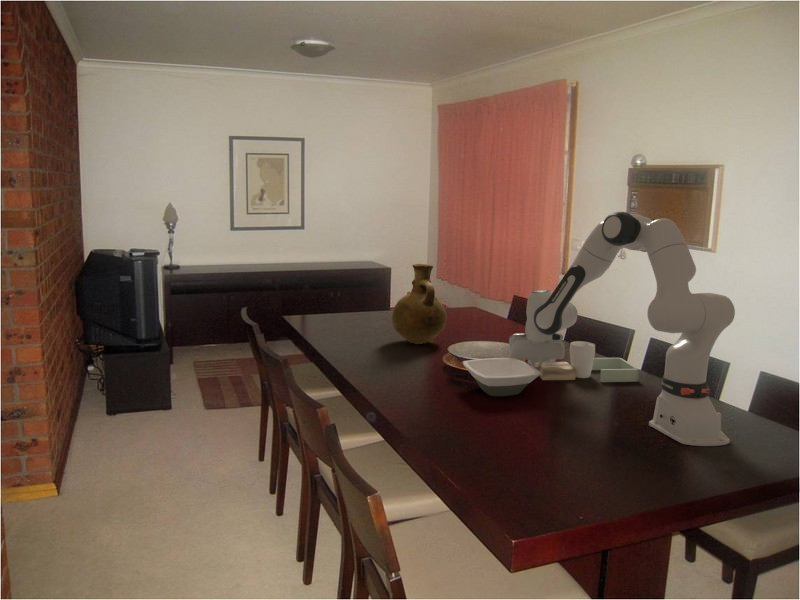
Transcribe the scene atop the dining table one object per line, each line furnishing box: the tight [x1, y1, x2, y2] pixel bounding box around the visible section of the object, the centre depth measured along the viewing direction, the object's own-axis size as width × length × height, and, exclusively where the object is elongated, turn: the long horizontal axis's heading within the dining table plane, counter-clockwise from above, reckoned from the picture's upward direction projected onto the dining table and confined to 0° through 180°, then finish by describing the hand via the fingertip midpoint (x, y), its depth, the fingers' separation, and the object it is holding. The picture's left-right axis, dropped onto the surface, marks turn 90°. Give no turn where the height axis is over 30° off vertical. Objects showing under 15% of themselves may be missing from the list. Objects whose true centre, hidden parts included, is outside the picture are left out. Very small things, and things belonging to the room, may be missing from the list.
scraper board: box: [535, 361, 576, 381], centre depth 231 cm, size 10×12×4 cm
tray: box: [591, 357, 641, 383], centre depth 233 cm, size 16×14×4 cm
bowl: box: [462, 357, 541, 397], centre depth 213 cm, size 22×23×8 cm
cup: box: [569, 340, 596, 379], centre depth 231 cm, size 9×9×12 cm
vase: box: [391, 263, 448, 345], centre depth 275 cm, size 24×24×35 cm
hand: (535, 370), depth 230 cm, fingers closed
